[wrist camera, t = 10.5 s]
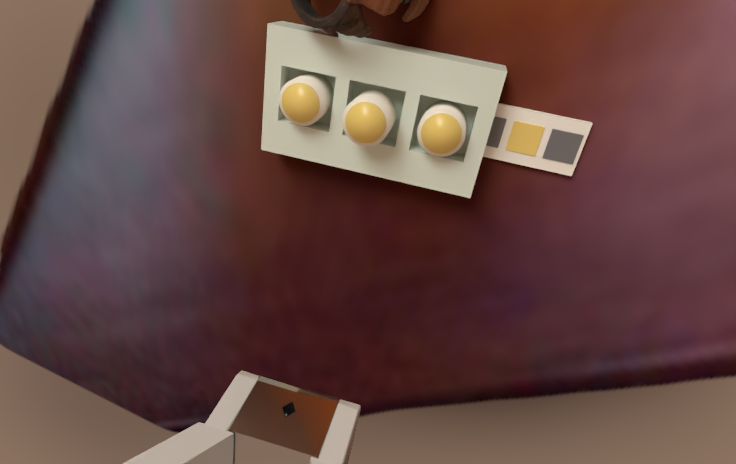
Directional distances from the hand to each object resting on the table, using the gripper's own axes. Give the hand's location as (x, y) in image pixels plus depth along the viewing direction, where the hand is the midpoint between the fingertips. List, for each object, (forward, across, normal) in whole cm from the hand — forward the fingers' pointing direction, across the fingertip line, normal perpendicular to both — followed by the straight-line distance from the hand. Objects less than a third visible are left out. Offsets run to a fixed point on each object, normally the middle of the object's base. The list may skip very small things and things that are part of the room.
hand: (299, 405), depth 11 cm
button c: (+31, +10, +1) cm, 32 cm away
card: (+32, -8, +1) cm, 33 cm away
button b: (+29, +4, +1) cm, 29 cm away
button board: (+32, +4, +1) cm, 32 cm away
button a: (+31, -1, +1) cm, 31 cm away
